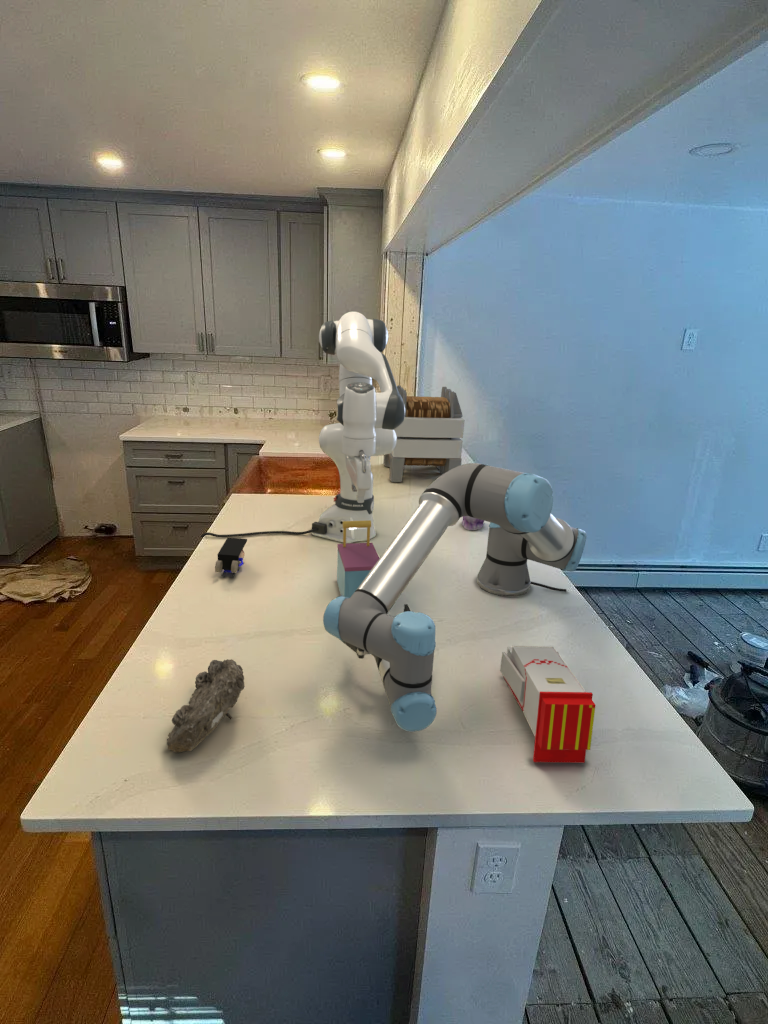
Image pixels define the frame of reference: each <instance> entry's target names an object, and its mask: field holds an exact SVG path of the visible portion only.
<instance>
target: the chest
mask: <svg viewBox="0 0 768 1024" xmlns="http://www.w3.org/2000/svg"><path fill="white" fill-rule="evenodd" d="M336 552H337V553H336V554H337V555H336V556H337V557H336V558H337V559H336V560H337V561H336V563H337V564H336V583H337V584H336V585H337V587H338V590H339V596H343V597H348V598H350V597H351V596H352V595H353V593H354V592H355V591H356V590H357V588H358V587H359V586H360V584H361V583H362V582H363V580H364V579H365V578H366V576H367V575H368V574H369V572H370V571H371V570H364V571H345V570H344V567H343V564H342V561H341V557H340V554H339V551H338V549H337V551H336Z"/></svg>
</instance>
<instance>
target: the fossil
mask: <svg viewBox="0 0 768 1024" xmlns="http://www.w3.org/2000/svg"><path fill="white" fill-rule="evenodd" d="M243 670H244V669H243V667H242V665H240V664H237V662H236V661H235V660H234V659H232V658H231V659H227V658H226V659H224V660H223V661H222V660H217V659H212V660H211V661H210V663H209V665H208V666H207V671H201V672H199V673H198V674H197V675H196V676H195V680H194V684H195V685H194V687H195V689H194V690H193V693H192V694H191V697H190V698H189V700H188V704H184V705H182V706H181V707H180V709H177V710H176V711H175V713H174V715H173V716H172V718H171V723H172V724H173V727H172V730H171V731H170V732H168V734H167V738H166V741H167V742H166V745H167V749H168V750H169V751H173V752H174V753H176V754H178V753H182V752H188V751H189V752H192V751H193V750H195V748H196V747H197V746H199V744H200V743H201V742H203V741H204V740H205V739H206V738H207V737H208V736H209V735H210V734H211V733H212V732H214V730H215V729H217V727H218V726H219V724H220V722H221V721H222V720H223V719H224V718H225V716H226V717H227V719H229V720H233V717H232V715H230V714H229V710H230V709H231V708H234V706H235V704H236V703H237V702H238V699H239V697H240V695H241V693H242V691H243V690H245V689H244V688H245V675H244V671H243Z"/></svg>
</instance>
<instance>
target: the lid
mask: <svg viewBox="0 0 768 1024" xmlns="http://www.w3.org/2000/svg"><path fill="white" fill-rule="evenodd" d="M370 527H371V520H367V521H343V542H342V543H337V545H336V547H337V550H338V551H339V554H340V557H341V561H342V564H343V567H344V570H345V571H364V570H372V568H373V567H374V566H375V564H376V563H377V562H378V560H379V559H380V558H381V557H379V553H378V552H377V550H376V547H375V545H374V543H373V542H371V539H370ZM346 528H367V540H366V542H353V543H346Z"/></svg>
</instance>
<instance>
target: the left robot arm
mask: <svg viewBox="0 0 768 1024" xmlns="http://www.w3.org/2000/svg"><path fill="white" fill-rule="evenodd" d="M318 342H319V345H320V347H321V349H322V351H323V353H324V354H327V355H331V356H335V355H336V358H337V360H338V362H339V368H338V370H339V371H338V389H339V390H338V391H339V396H338V398H337V399H336V405H337V417H336V421H337V422H335V423H330V424H326V425H323V427H322V428H321V430H320V432H319V435H318V445H319V447H320V449H321V451H322V452H323V453H324V454H325V455H326V456H328V457H329V458H330V459H331V460H332V462H334V464H335V466H336V467H337V470H338V474H339V483H340V484H339V485H340V488H339V489H340V490H339V491H338V492H337V494H336V495H335V496H334V497H333V502H334V504H333V505H331V506H329V507H328V508H326V509H325V510H323V512H321V514H320V515H319V517H318V521H314V522H312V523H311V529H308V530H306V531H305V530H304V531H287V530H268V531H267V530H266V531H253V532H245V533H232V534H217V533H213V532H204V533H203V534H202V535H200V538H204V537H206V536H212V537H215V538H239V537H249V536H256V535H258V536H259V535H272V534H274V535H277V534H281V535H282V534H284V535H297V536H299V535H300V536H301V535H307V534H311V536H315V537H319V538H323V539H326V540H330V541H336V542H339V543H343V521H367V520H371V527H370V540H372V539H373V538H375V537H376V535H377V532H376V528H375V523H374V513H373V512H374V509H375V496H374V474H373V472H372V464H371V461H370V460H371V457H380V456H384V455H386V454H390V453H391V452H392V451H393V450H394V448H395V446H396V443H397V436H396V433H395V431H394V429H395V428H397V427H398V426H399V425H400V424H402V422H403V421H404V417H405V406H404V402H403V399H402V397H401V395H400V393H399V391H398V389H397V386H398V385H397V382H396V380H395V377H394V374H393V372H392V368H391V366H390V363H389V361H388V358H387V357H386V354H384V353H383V352H384V351H385V349H386V348H387V344H388V342H389V331H388V328H387V326H386V323H385V322H384V321H383V320H382V319H378V318H373V319H370V318H367V317H366V316H365V315H364V314H363V313H361V312H358V311H348V312H345V313H344V314H343V315H342V316H341V317H340V318H339V320H329V321H325V322H323V323H322V325H321V326H320V329H319V333H318ZM373 380H374V381H376V382H377V384H378V387H379V390H380V392H376V388H375V386H374V385H373ZM365 541H367V528H346V544H348V543H358V542H365Z"/></svg>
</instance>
